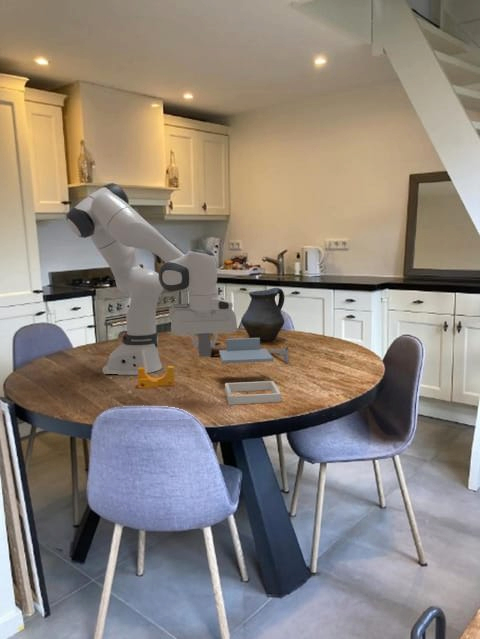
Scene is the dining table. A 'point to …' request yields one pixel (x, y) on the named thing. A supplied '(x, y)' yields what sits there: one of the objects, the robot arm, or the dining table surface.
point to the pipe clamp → (151, 382)
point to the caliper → (282, 353)
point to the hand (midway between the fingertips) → (204, 347)
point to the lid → (244, 351)
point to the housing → (252, 398)
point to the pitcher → (264, 315)
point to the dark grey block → (204, 345)
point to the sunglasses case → (217, 348)
